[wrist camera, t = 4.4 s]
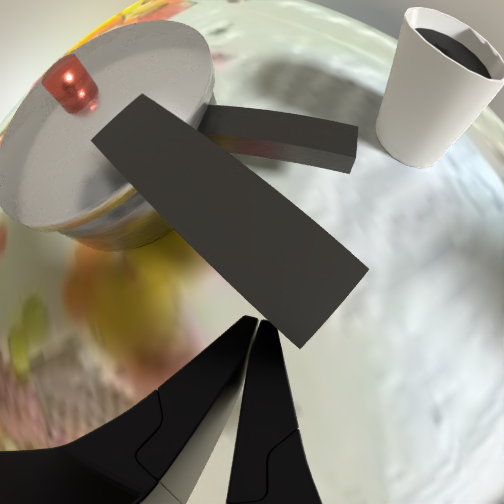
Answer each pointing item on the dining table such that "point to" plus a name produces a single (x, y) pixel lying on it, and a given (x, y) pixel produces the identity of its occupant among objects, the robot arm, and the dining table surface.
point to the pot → (235, 141)
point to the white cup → (435, 86)
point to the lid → (166, 171)
